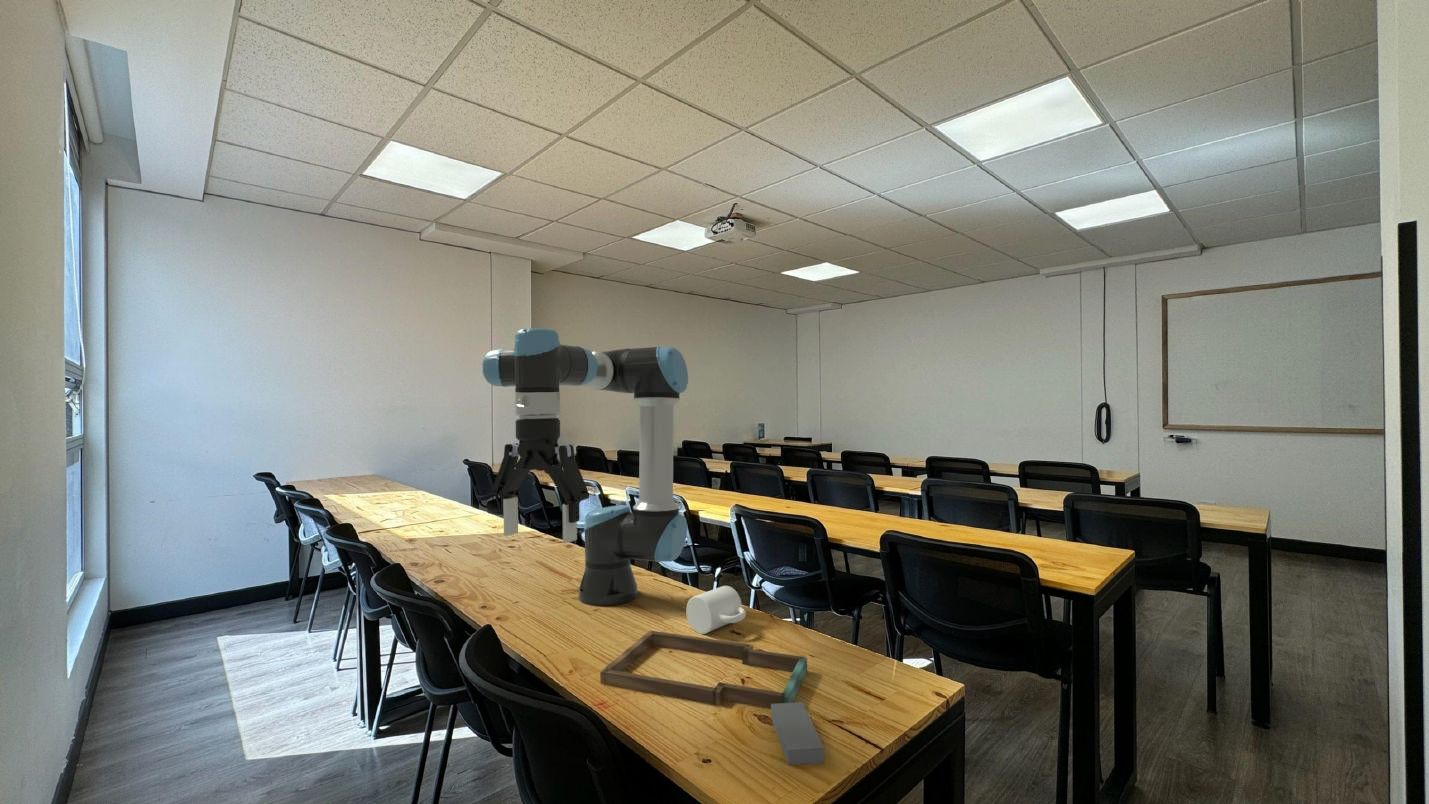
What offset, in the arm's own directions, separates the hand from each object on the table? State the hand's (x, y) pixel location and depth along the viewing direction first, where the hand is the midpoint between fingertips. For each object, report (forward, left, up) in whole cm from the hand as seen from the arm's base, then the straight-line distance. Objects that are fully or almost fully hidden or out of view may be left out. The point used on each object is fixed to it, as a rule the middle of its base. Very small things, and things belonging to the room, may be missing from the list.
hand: (539, 537), depth 101 cm
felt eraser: (+1, +46, -27) cm, 53 cm away
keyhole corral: (-14, +21, -26) cm, 36 cm away
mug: (-35, +21, -27) cm, 49 cm away
